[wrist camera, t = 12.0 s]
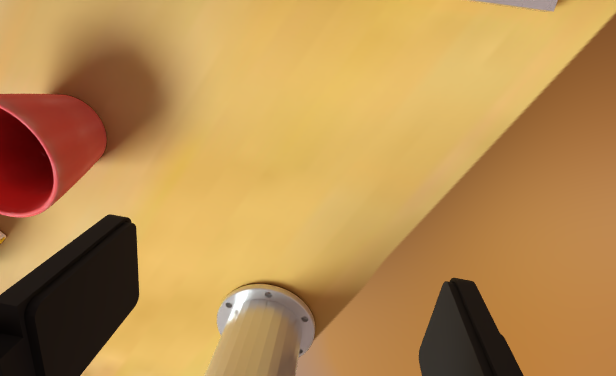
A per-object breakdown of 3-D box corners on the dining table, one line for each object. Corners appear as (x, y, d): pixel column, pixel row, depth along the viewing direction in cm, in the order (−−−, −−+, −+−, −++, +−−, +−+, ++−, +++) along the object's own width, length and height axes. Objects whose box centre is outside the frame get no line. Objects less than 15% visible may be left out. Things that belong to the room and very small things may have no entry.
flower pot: (73, 58, 36) (-16, 70, 28) (141, 153, 40) (81, 191, 31) (4, 106, 40) (-96, 131, 31) (73, 190, 43) (0, 235, 34)
